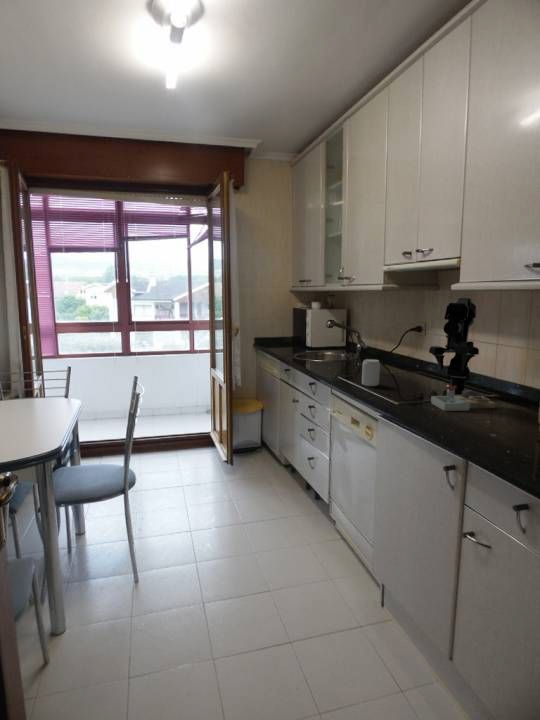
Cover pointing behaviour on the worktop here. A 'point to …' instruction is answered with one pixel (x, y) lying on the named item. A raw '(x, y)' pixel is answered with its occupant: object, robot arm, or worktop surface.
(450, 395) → the lock pin
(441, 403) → the tray
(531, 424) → the worktop surface
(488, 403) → the block
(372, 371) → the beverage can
